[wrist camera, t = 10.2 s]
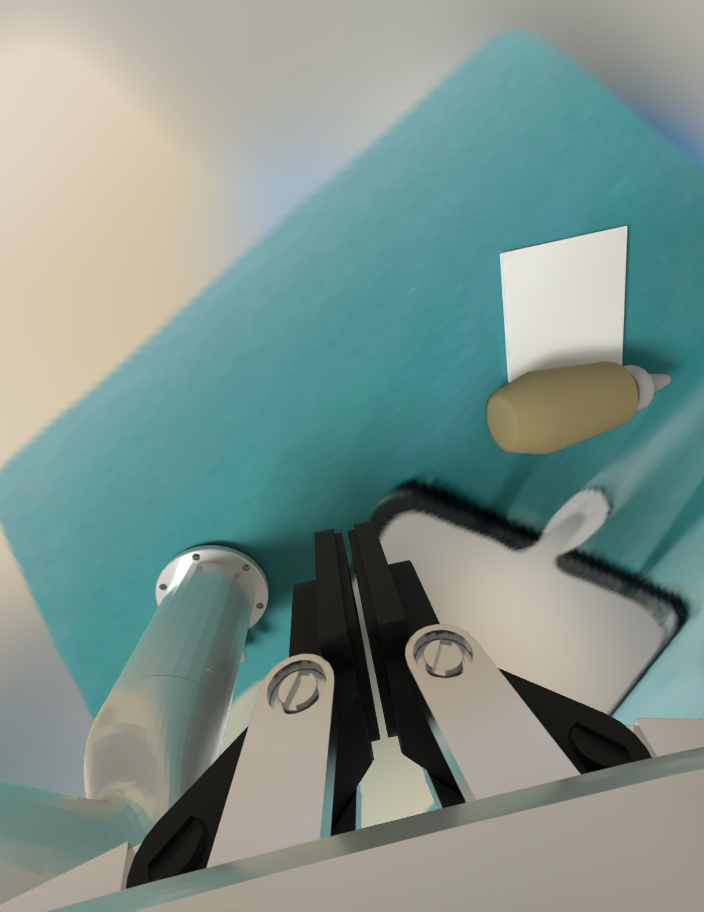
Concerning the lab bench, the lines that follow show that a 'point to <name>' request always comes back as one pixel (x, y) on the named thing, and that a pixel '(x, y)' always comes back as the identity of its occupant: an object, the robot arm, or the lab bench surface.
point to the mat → (564, 302)
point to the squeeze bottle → (567, 405)
